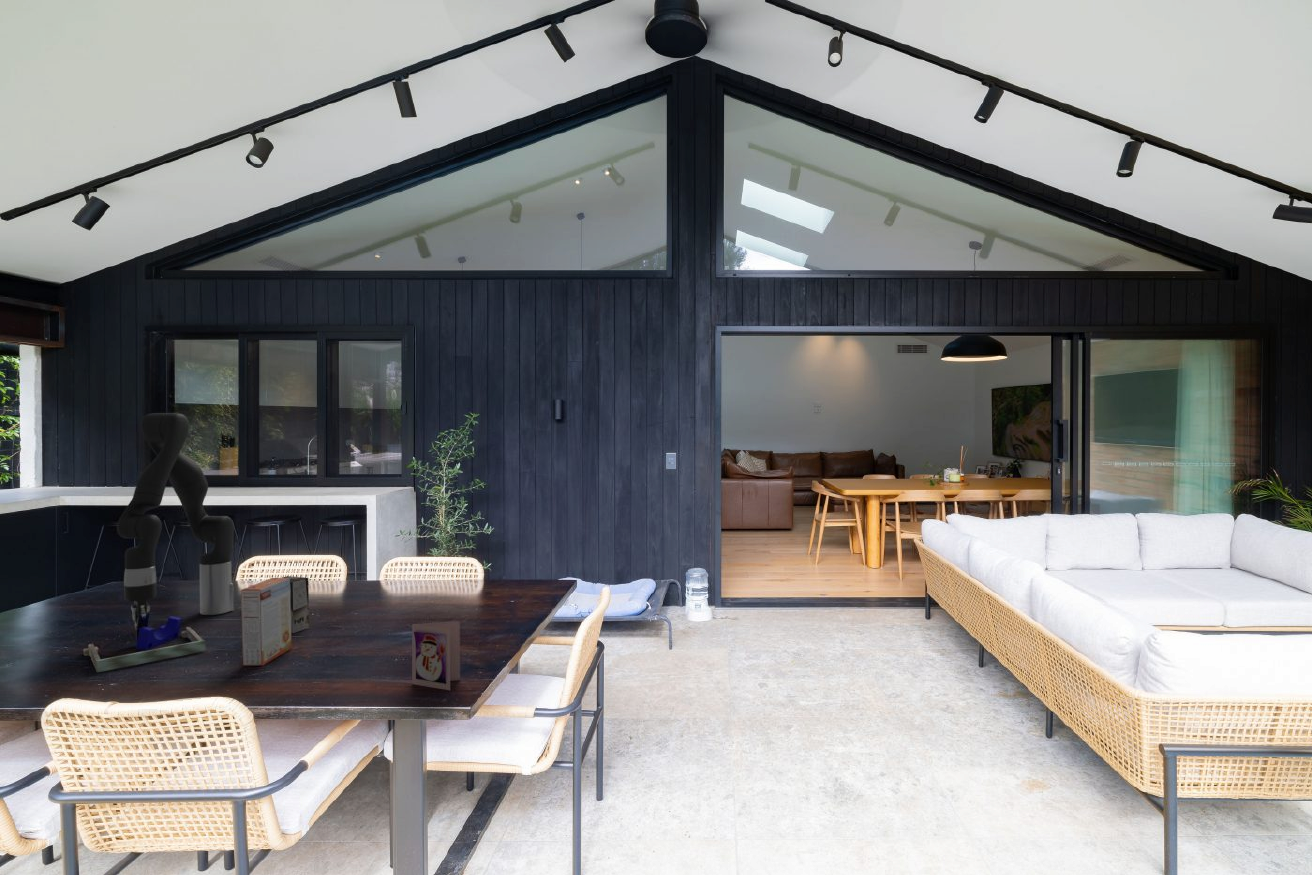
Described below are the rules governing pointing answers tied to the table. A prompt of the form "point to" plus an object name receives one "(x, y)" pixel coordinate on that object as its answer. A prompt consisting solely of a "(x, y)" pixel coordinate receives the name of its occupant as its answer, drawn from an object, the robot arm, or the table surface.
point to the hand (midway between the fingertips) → (140, 640)
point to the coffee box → (299, 603)
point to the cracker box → (266, 621)
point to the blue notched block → (158, 634)
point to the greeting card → (436, 654)
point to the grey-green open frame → (147, 653)
